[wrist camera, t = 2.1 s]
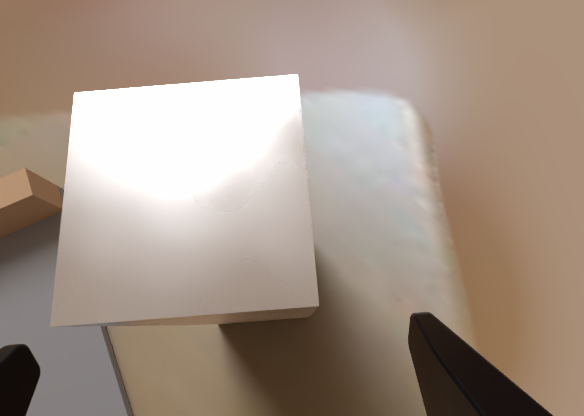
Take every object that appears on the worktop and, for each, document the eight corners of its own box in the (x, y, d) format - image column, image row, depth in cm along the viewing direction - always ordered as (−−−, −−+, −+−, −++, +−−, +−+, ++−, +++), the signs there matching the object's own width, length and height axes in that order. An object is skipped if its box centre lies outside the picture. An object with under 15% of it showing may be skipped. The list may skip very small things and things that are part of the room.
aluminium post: (309, 317, 19) (319, 306, 6) (218, 324, 19) (49, 327, 6) (301, 228, 20) (297, 74, 8) (216, 235, 20) (74, 92, 8)
